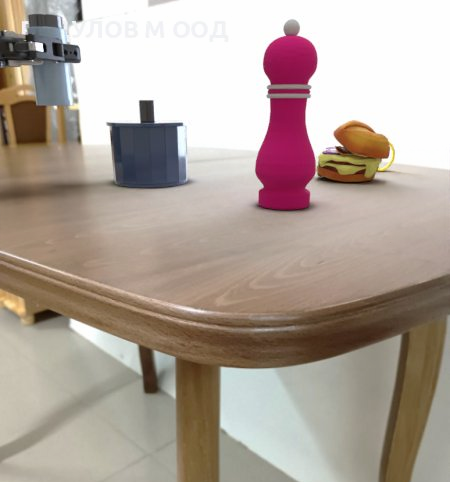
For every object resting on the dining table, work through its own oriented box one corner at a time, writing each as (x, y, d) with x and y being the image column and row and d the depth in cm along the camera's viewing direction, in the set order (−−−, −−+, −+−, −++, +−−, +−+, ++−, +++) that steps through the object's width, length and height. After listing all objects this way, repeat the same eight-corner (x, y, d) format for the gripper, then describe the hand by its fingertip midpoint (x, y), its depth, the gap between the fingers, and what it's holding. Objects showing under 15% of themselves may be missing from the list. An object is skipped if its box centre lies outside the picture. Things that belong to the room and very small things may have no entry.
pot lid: (89, 130, 71) (86, 100, 70) (137, 126, 82) (136, 100, 80) (161, 132, 67) (160, 99, 65) (203, 128, 77) (202, 100, 75)
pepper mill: (323, 203, 61) (336, 20, 53) (296, 213, 55) (308, 11, 48) (272, 197, 65) (278, 26, 57) (243, 206, 59) (245, 17, 52)
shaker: (28, 105, 68) (16, 14, 64) (54, 105, 72) (44, 20, 68) (56, 105, 66) (45, 12, 62) (81, 105, 70) (72, 18, 66)
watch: (358, 171, 89) (362, 136, 87) (358, 169, 92) (361, 135, 89) (393, 172, 88) (397, 137, 86) (391, 170, 90) (395, 136, 88)
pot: (99, 184, 75) (94, 125, 71) (141, 175, 84) (138, 123, 81) (163, 189, 70) (160, 127, 67) (200, 179, 80) (199, 124, 77)
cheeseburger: (329, 172, 87) (347, 114, 82) (384, 192, 82) (407, 132, 77) (301, 177, 79) (320, 114, 74) (360, 200, 74) (384, 134, 70)
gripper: (-29, -1, 50) (97, 20, 63) (-95, 12, 58) (30, 29, 71) (-16, 78, 53) (103, 83, 66) (-80, 81, 61) (37, 85, 74)
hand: (65, 55), depth 68 cm, fingers closed on shaker, 5 cm apart
